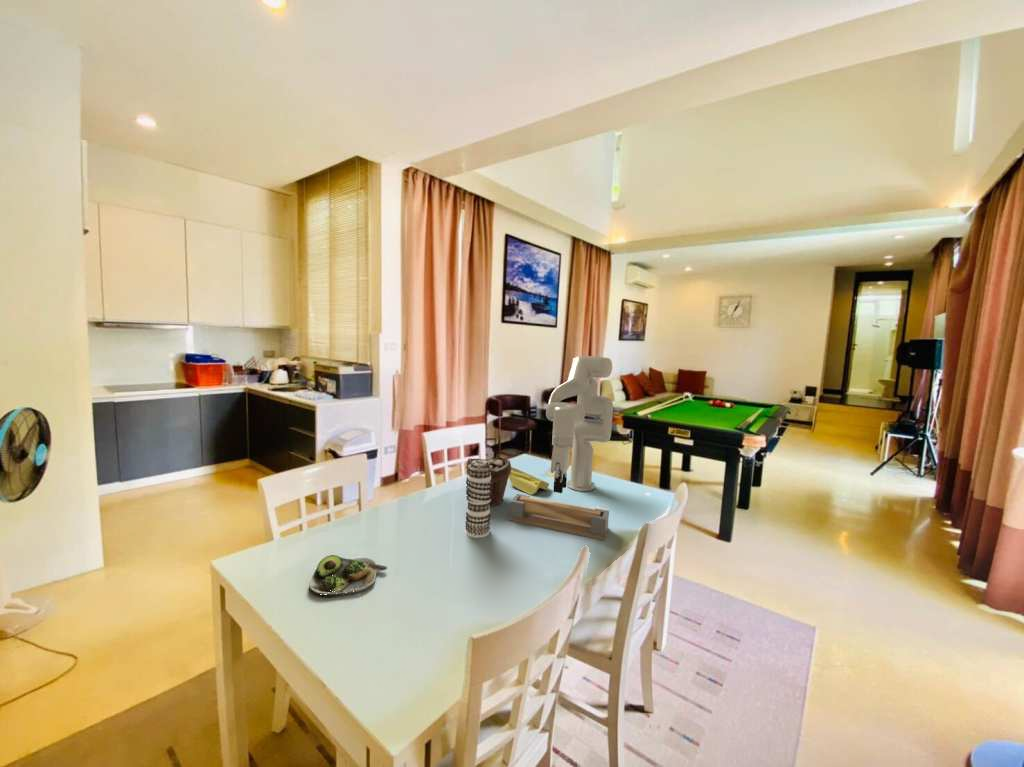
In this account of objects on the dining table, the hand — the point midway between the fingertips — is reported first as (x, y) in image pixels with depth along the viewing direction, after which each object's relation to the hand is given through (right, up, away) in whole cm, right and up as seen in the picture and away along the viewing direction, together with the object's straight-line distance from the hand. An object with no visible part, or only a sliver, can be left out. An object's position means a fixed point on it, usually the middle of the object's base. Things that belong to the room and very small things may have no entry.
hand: (559, 489), depth 152 cm
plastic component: (-11, -9, +38) cm, 41 cm away
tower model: (-29, -13, -7) cm, 33 cm away
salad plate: (-64, -16, -36) cm, 75 cm away
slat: (0, -11, +1) cm, 11 cm away
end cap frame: (-1, -13, +2) cm, 13 cm away
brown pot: (-27, -10, +21) cm, 36 cm away
